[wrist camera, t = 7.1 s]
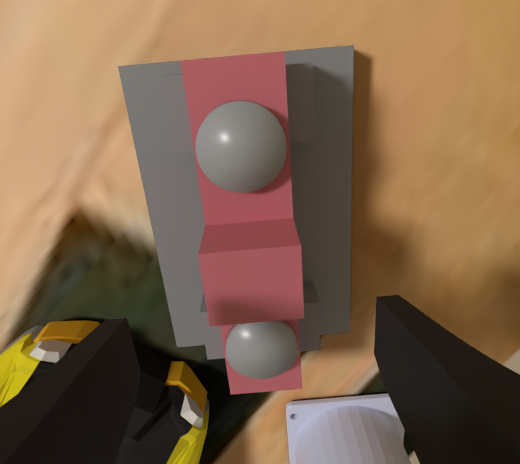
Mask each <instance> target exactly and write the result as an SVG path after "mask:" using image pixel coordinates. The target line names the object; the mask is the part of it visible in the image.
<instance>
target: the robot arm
mask: <svg viewBox="0 0 520 464" xmlns="http://www.w3.org/2000/svg"><path fill="white" fill-rule="evenodd" d="M374 354H375V358H376V361H377V364H378V368H379V371H380V374H381V377H382V380H383V383H384V386H385V388H386V390H387V393H386V394H374V395H362V396H350V397H339V398H327V399H315V400H303V401H292V402H289V403H287V405H286V419H287V433H288V446H289V459H290V464H411V463H410V461H409V458H408V456H407V453H406V451H405V448H404V446H403V442H404V431H405V432H406V434H407V436H408V438H409V440H410V442H411V445H412V447H413V449H414V451H415V453H416V455H417V458H418V460H419V462H420V464H520V375H519V374H517V373H515V372H514V371H512V370H510V369H508V368H506V367H505V366H503V365H501V364H499V363H498V362H496V361H494V360H493V359H491V358H489V357H488V356H486V355H484V354H483V353H481V352H480V351H478V350H476V349H475V348H473V347H472V346H470V345H468V344H467V343H465V342H464V341H462V340H461V339H459V338H458V337H456V336H455V335H453V334H452V333H450V332H449V331H448V330H446V329H445V328H443V327H442V326H440V325H439V324H438V323H436V322H435V321H433V320H432V319H431V318H429V317H428V316H427V315H425V314H424V313H422V312H421V311H420V310H418V309H417V308H416V307H414V306H413V305H412V304H410V303H409V302H407V301H406V300H405V299H403V298H402V297H400V296H399V295H393V296H382V297H377V303H376V325H375V347H374ZM140 377H141V371H140V367H139V363H138V359H137V356H136V352H135V348H134V344H133V341H132V337H131V333H130V329H129V326H128V322H127V318H124V319H112V320H105V321H104V322H102V323H101V324H100V325H99V326H97V327H96V328H95V329H94V330H93V331H92V332H90V333H89V334H88V335H87V336H86V337H85V338H84V339H82V340H81V341H80V342H79V343H78V344H77V345H76V346H75V347H73V348H72V349H71V350H70V351H69V352H68V353H67V354H65V355H64V356H63V357H62V358H61V359H60V360H58V361H57V362H56V363H55V364H54V365H53V366H52V367H50V368H49V369H48V370H47V371H45V372H44V373H43V374H42V375H40V376H39V377H38V378H37V379H36V380H34V381H33V382H32V383H31V384H29V385H28V386H27V387H26V388H24V389H23V390H22V391H21V392H19V393H18V394H17V395H16V396H14V397H13V398H12V399H10V400H9V401H8V402H6V403H5V404H4V405H2V406H1V407H0V464H115V461H116V458H117V456H118V453H119V450H120V447H121V444H122V441H123V439H124V436H125V433H126V430H127V427H128V424H129V421H130V418H131V415H132V412H133V409H134V406H135V401H136V397H137V392H138V387H139V382H140ZM292 414H294V415H292Z"/></svg>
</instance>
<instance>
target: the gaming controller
mask: <svg viewBox="0 0 520 464" xmlns="http://www.w3.org/2000/svg"><path fill="white" fill-rule="evenodd" d="M99 325H100V323H99V322H96V321H56V322H50V323H47V324H46V325H38V326H36V327H34V328H32V329H29V330H28V331H26V332H25V333H24V334H22V335H21V336H20V337H18V338H17V339H16V340H15V341H13V342H12V343H11V344H9V345H8V346H7V347H5V348H4V349H3V350H1V351H0V407H1V406H2V405H4V404H5V403H6V402H8V401H9V400H10V399H12V398H13V397H14V396H16V395H17V394H18V393H19V392H21V391H22V390H23V389H24V388H26V387H27V386H28V385H29V384H31V383H32V382H33V381H34V380H36V379H37V378H38V377H39V376H40V375H42V374H43V373H44V372H45V371H47V370H48V369H49V368H50V367H52V366H53V365H54V364H55V363H56V362H57V361H58V360H60V359H61V358H62V357H63V356H64V355H65V354H67V353H68V352H69V351H70V350H71V349H72V348H73V347H75V346H76V345H77V344H78V343H79V342H80V341H81V340H82V339H84V338H85V337H86V336H87V335H88V334H89V333H90V332H92V331H93V330H94V329H95V328H96V327H97V326H99ZM133 344H134V348H135V352H136V356H137V359H138V363H139V367H140V371H141V377H140V382H139V387H138V392H137V397H136V401H135V406H134V409H133V412H132V415H131V418H130V421H129V424H128V427H127V430H126V433H125V436H124V439H123V441H122V444H121V447H120V450H119V453H118V454H120V455H121V456H122V457H123V458H124V459H125V461H126V463H127V464H199V460H200V457H201V453H202V449H203V444H204V440H205V436H206V432H207V428H208V418H209V400H208V399H207V391H206V390H205V388H204V387H203V385H202V384H201V383H200V381H199V380H198V378H197V377H196V375H195V374H194V373H193V371H192V370H191V368H190V367H189V366H188V365H187V364H186V363H185V362H184V361H171V360H170V359H168V358H166V357H164V356H161V355H159V354H157V353H155V352H153V351H151V350H148V349H146V348H144V347H142V346H140V345H138V344H135V343H133Z"/></svg>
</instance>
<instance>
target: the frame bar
mask: <svg viewBox="0 0 520 464" xmlns="http://www.w3.org/2000/svg"><path fill="white" fill-rule="evenodd" d="M181 68H182V75H183V81H184V88H185V95H186V101H187V108H188V115H189V121H190V128H191V135H192V141H193V148H194V154H195V161H196V168H197V174H198V181H199V188H200V194H201V201H202V208H203V214H204V221H205V228H204V232H203V236H202V240H201V244H200V248H199V252H198V258H199V264H200V271H201V277H202V283H203V289H204V295H205V301H206V307H207V313H208V319H209V325H210V326H220V327H221V334H222V341H223V347H224V354H225V361H226V367H227V374H228V380H229V387H230V394H231V395H232V394H244V393H256V392H268V391H280V390H292V389H302V379H301V359H300V340H299V320H298V319H304V300H303V277H302V254H301V243H300V240H299V236H298V233H297V229H296V226H295V222H294V219H293V203H292V184H291V164H290V145H289V126H288V106H287V87H286V67H285V52H274V53H263V54H252V55H240V56H229V57H218V58H207V59H196V60H185V61H181Z"/></svg>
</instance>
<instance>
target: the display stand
mask: <svg viewBox="0 0 520 464" xmlns="http://www.w3.org/2000/svg"><path fill="white" fill-rule="evenodd" d="M284 52H285V67H286V87H287V106H288V126H289V145H290V164H291V184H292V203H293V219H294V222H295V226H296V229H297V233H298V236H299V240H300V243H301V254H302V277H303V300H304V319H298V320H299V340H300V352H302V351H313V350H320V335H328V334H340V333H350V293H351V217H352V140H353V64H354V45H351V46H339V47H328V48H317V49H306V50H295V51H284ZM273 53H274V52H273ZM262 54H263V53H262ZM251 55H252V54H251ZM239 56H240V55H239ZM228 57H229V56H228ZM217 58H218V57H217ZM206 59H207V58H206ZM195 60H196V59H195ZM184 61H185V60H184ZM118 68H119V73H120V78H121V83H122V87H123V92H124V97H125V102H126V106H127V111H128V116H129V121H130V125H131V130H132V135H133V140H134V144H135V149H136V154H137V159H138V163H139V168H140V173H141V178H142V182H143V187H144V192H145V197H146V201H147V206H148V211H149V216H150V220H151V225H152V230H153V234H154V239H155V244H156V249H157V253H158V258H159V263H160V268H161V272H162V277H163V282H164V287H165V291H166V296H167V301H168V306H169V310H170V315H171V320H172V325H173V329H174V334H175V339H176V344H177V347H187V346H199V345H205V347H206V353H207V359H219V358H225V354H224V347H223V341H222V334H221V327H220V326H210V325H209V319H208V313H207V307H206V301H205V295H204V289H203V283H202V277H201V271H200V264H199V258H198V252H199V248H200V244H201V240H202V236H203V232H204V228H205V221H204V214H203V208H202V201H201V194H200V188H199V181H198V174H197V168H196V161H195V154H194V148H193V141H192V135H191V128H190V121H189V115H188V108H187V101H186V95H185V88H184V81H183V75H182V68H181V61H173V62H162V63H151V64H140V65H128V66H118Z"/></svg>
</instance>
